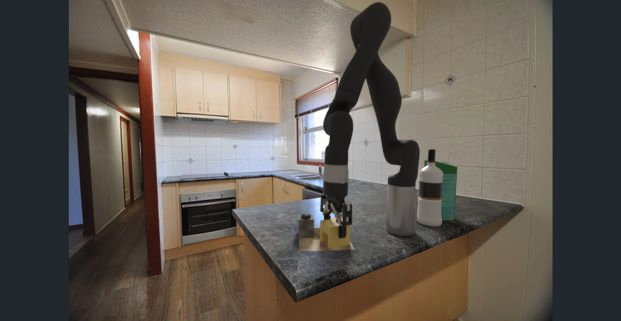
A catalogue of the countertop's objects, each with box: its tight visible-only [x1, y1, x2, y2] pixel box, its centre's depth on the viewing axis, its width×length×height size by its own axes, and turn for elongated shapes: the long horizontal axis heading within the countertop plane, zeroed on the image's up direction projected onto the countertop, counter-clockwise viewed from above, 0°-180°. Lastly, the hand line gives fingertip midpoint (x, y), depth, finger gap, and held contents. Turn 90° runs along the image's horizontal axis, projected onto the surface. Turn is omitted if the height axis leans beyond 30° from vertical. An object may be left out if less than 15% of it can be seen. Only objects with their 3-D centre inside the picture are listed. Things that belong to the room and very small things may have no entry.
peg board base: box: [297, 212, 356, 252], centre depth 67 cm, size 16×16×8 cm
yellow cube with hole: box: [319, 217, 351, 249], centre depth 64 cm, size 7×6×7 cm
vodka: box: [417, 148, 443, 228], centre depth 83 cm, size 9×9×30 cm
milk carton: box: [423, 159, 458, 221], centre depth 91 cm, size 9×9×25 cm
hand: (334, 232), depth 63 cm, fingers open, 8 cm apart
